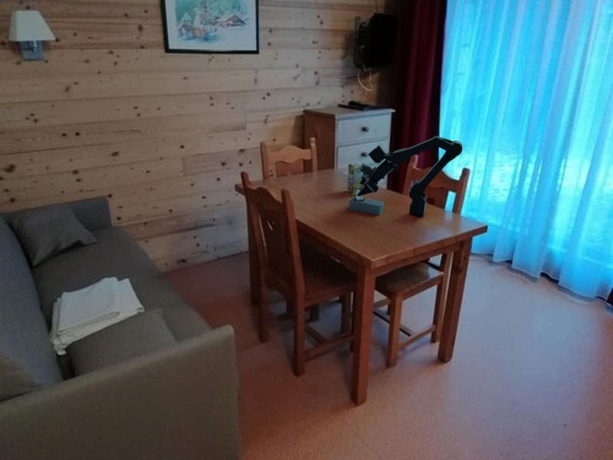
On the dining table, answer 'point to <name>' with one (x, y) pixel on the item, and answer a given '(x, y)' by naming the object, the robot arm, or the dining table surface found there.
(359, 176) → the candy box
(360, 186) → the steel pin
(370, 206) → the bar
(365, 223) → the dining table surface
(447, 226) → the dining table surface
